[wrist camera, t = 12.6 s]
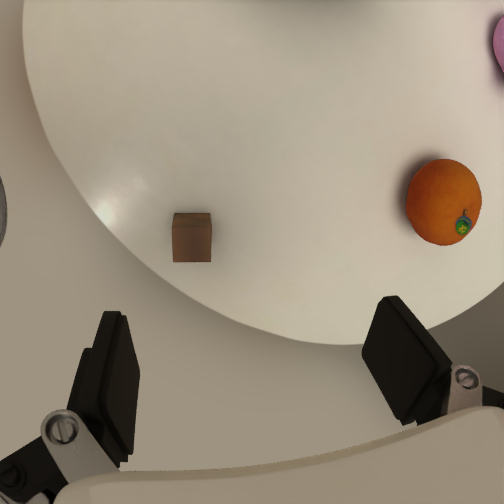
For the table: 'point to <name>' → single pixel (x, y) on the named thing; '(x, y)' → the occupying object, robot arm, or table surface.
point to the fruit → (443, 202)
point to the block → (191, 237)
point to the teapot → (499, 42)
